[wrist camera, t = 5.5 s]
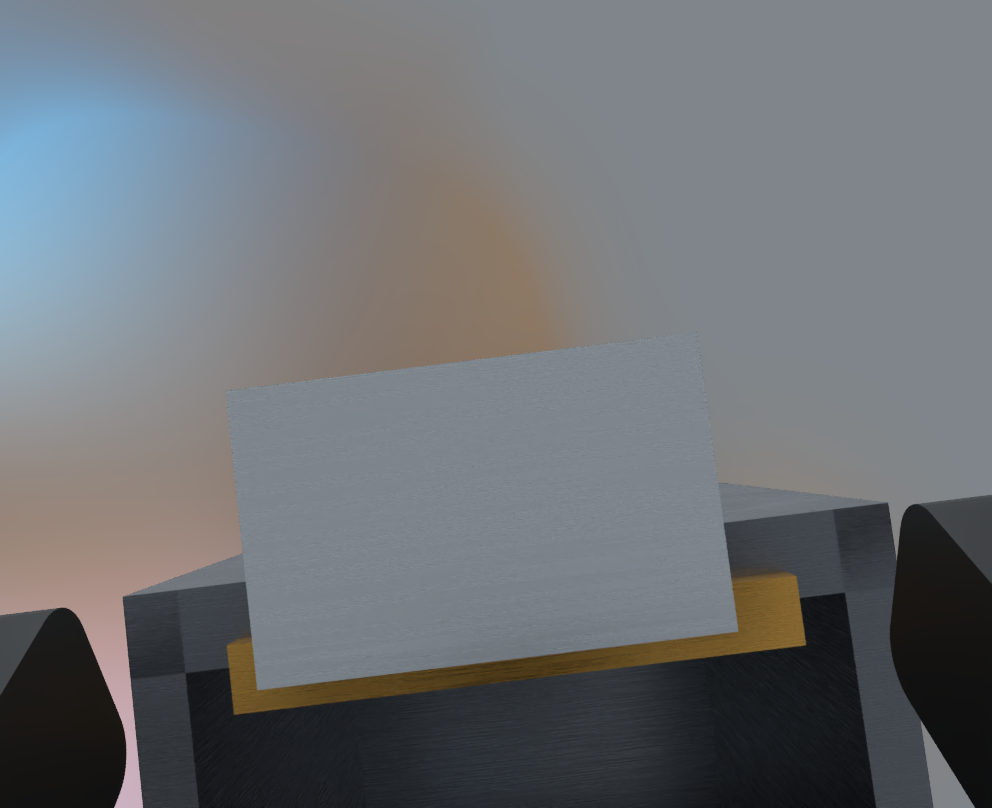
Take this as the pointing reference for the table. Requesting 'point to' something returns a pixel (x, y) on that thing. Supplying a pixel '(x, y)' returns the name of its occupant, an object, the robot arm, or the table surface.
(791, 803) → the rack
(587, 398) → the panel
